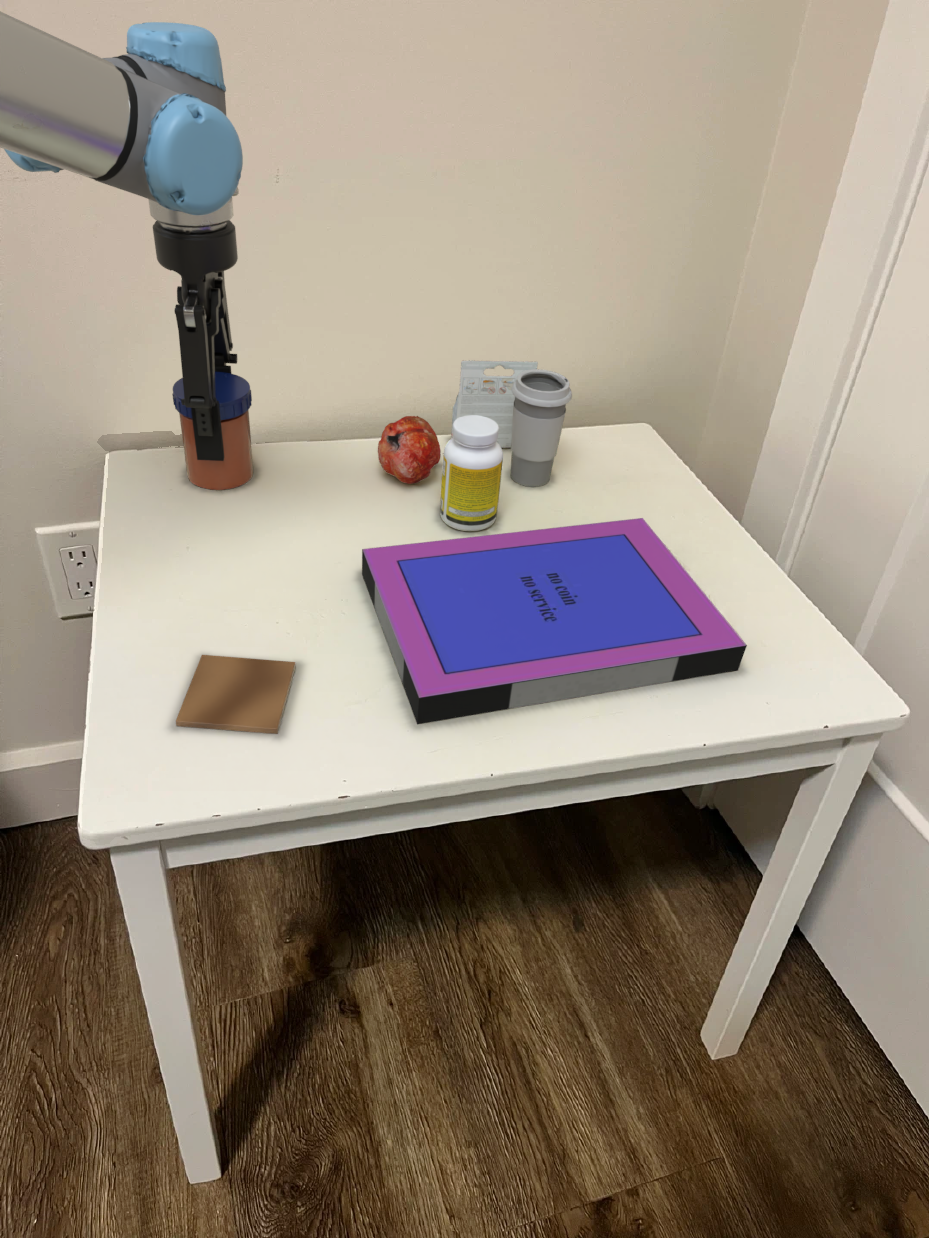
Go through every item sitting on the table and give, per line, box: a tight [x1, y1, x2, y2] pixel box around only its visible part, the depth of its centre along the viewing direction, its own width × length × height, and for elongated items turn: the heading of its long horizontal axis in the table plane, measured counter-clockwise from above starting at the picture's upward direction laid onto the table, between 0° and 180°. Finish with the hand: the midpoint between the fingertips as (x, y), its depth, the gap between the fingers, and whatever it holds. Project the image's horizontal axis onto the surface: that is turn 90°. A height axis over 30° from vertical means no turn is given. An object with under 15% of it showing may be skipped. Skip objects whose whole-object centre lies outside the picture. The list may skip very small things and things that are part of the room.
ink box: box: [450, 359, 539, 449], centre depth 109 cm, size 3×9×12 cm, turn 98°
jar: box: [178, 410, 254, 491], centre depth 99 cm, size 7×7×10 cm
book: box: [361, 517, 748, 725], centre depth 85 cm, size 21×3×30 cm
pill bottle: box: [439, 415, 504, 532], centre depth 95 cm, size 6×6×11 cm
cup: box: [509, 368, 573, 488], centre depth 103 cm, size 7×7×12 cm
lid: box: [172, 372, 253, 420], centre depth 96 cm, size 8×8×2 cm
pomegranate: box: [377, 415, 442, 485], centre depth 103 cm, size 7×7×10 cm
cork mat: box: [175, 654, 297, 735], centre depth 75 cm, size 8×8×1 cm
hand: (217, 439), depth 100 cm, fingers closed on lid, 8 cm apart
